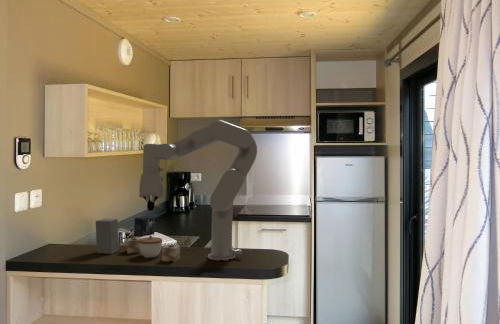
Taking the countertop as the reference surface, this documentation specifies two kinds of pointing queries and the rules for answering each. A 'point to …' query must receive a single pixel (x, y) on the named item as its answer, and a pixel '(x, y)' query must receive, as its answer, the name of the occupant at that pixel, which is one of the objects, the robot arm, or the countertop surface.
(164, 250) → the marked block near
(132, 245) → the marked block far
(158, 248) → the lidded jar
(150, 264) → the countertop surface
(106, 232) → the skincare box
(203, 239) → the countertop surface
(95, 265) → the countertop surface
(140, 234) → the box
